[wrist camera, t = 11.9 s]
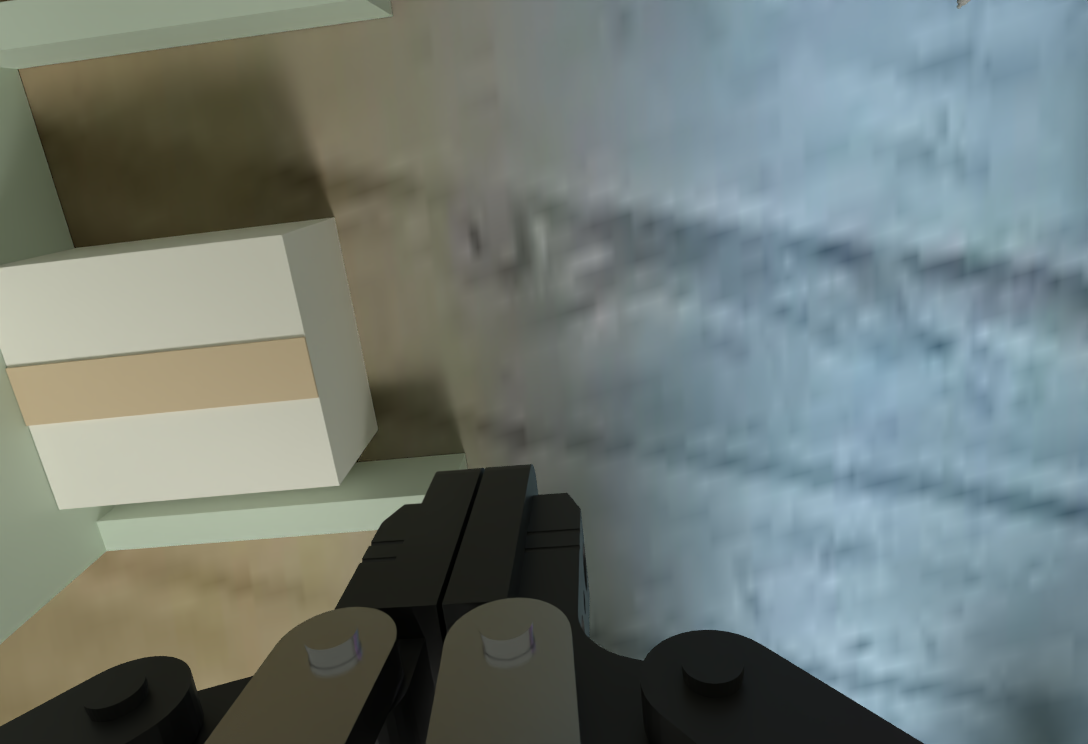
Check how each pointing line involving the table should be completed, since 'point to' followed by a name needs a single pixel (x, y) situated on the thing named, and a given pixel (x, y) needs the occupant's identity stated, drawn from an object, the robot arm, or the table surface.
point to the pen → (962, 3)
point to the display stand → (40, 228)
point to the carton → (189, 364)
